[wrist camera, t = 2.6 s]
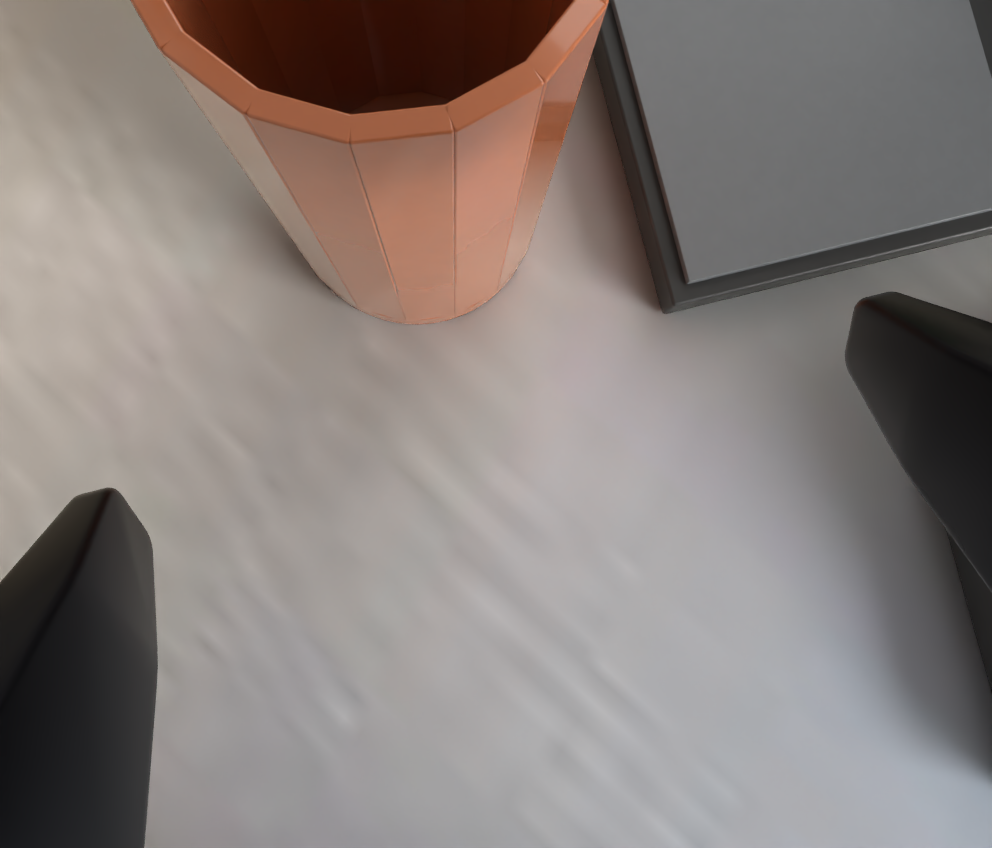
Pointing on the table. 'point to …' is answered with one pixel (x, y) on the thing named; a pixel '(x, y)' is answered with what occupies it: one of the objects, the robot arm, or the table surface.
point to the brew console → (976, 604)
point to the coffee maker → (797, 134)
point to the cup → (390, 130)
